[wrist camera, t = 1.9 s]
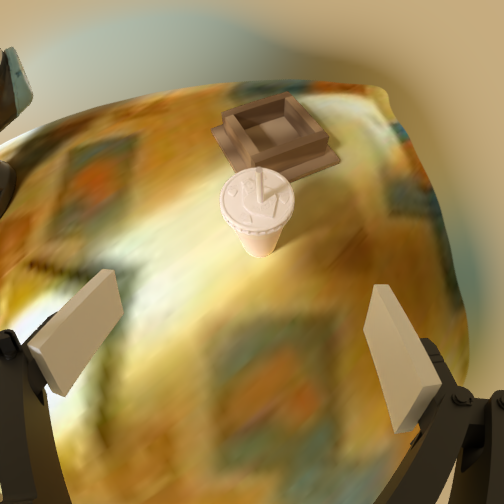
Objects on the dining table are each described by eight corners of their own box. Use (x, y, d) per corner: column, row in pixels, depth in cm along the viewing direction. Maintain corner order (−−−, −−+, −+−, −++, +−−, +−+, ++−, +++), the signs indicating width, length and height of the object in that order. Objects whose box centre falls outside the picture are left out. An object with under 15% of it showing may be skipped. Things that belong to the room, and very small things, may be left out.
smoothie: (250, 280, 32) (238, 219, 19) (221, 234, 34) (195, 156, 21) (299, 250, 33) (318, 176, 20) (268, 207, 35) (267, 122, 22)
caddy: (211, 132, 40) (206, 110, 36) (290, 105, 42) (291, 83, 37) (250, 199, 36) (248, 177, 31) (338, 163, 37) (345, 141, 33)
